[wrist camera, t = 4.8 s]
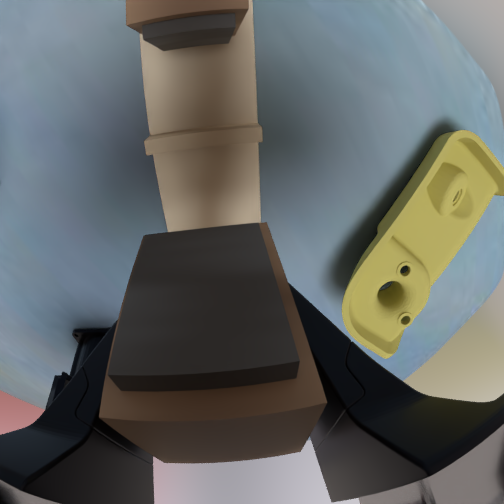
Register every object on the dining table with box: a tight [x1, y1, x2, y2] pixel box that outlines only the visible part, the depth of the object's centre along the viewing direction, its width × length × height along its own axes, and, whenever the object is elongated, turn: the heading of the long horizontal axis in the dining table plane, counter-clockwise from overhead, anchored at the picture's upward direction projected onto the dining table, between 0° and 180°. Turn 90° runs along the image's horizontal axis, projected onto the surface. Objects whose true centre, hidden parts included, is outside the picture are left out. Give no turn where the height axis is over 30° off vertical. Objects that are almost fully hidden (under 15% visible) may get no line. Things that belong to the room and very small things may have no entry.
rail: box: [126, 0, 263, 232], centre depth 12 cm, size 6×17×8 cm, turn 2°
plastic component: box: [342, 130, 504, 359], centre depth 21 cm, size 20×7×10 cm
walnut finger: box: [99, 222, 327, 463], centre depth 7 cm, size 4×5×6 cm
